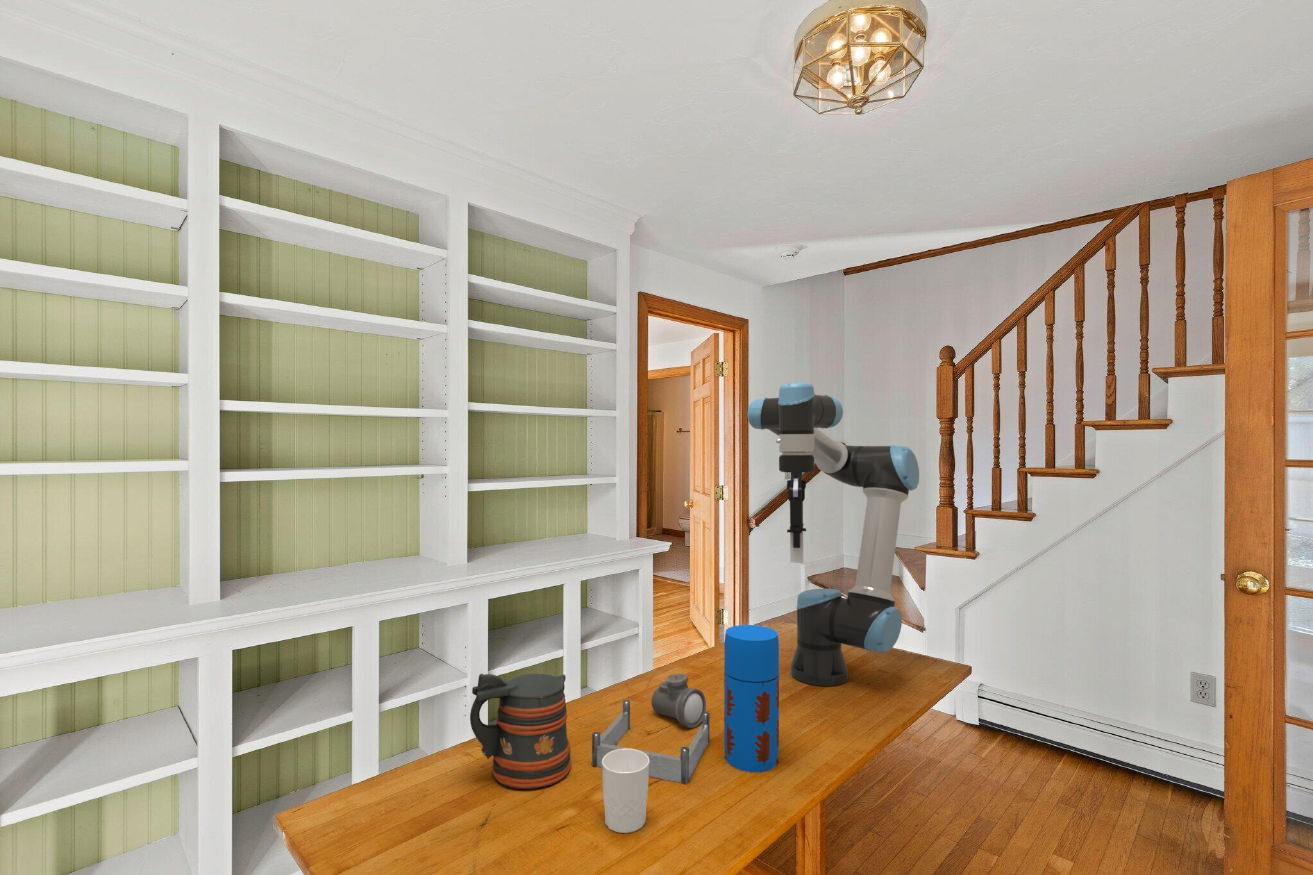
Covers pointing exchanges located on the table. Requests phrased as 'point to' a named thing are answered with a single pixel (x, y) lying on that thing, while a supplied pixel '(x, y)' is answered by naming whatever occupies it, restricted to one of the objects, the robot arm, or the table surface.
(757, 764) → the thermos
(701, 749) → the grey metal frame
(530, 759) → the beer stein
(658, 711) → the pipe fitting
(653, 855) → the table surface
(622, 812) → the white cup
